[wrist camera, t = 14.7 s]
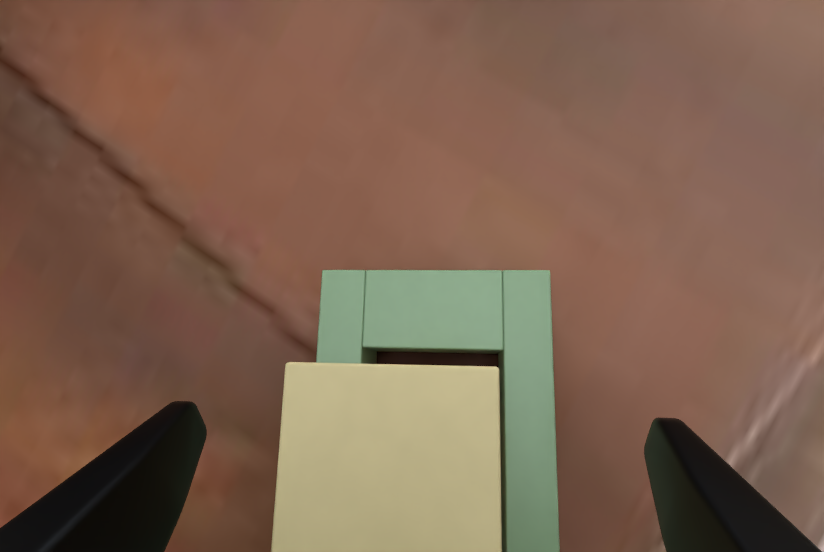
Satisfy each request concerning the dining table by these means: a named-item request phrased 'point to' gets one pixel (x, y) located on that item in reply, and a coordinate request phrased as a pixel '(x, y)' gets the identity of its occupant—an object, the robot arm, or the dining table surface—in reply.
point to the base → (467, 333)
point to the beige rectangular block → (389, 459)
